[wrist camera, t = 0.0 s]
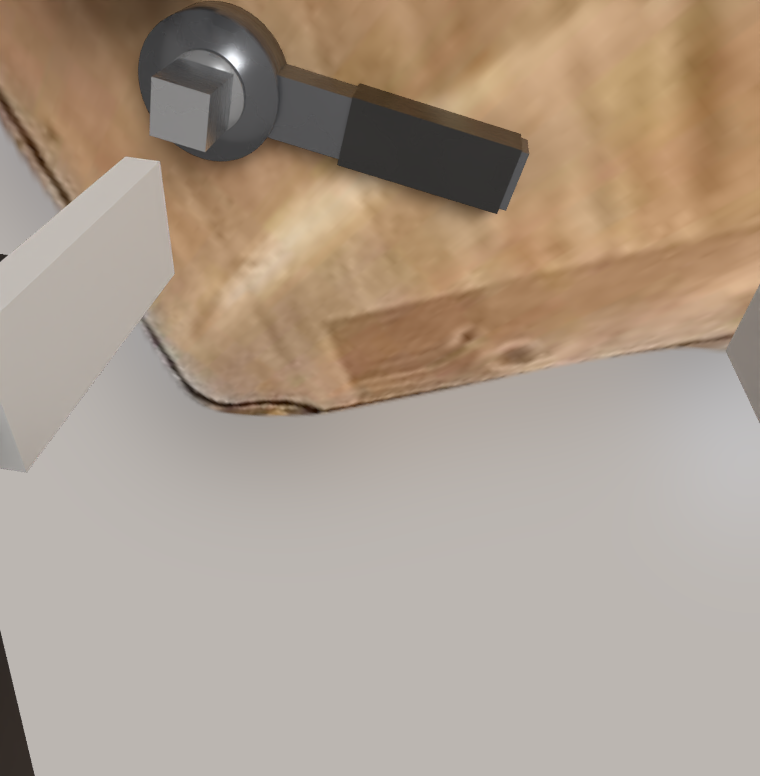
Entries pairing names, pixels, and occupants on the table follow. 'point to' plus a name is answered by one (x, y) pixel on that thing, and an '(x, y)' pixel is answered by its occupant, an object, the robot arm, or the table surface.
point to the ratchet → (311, 111)
